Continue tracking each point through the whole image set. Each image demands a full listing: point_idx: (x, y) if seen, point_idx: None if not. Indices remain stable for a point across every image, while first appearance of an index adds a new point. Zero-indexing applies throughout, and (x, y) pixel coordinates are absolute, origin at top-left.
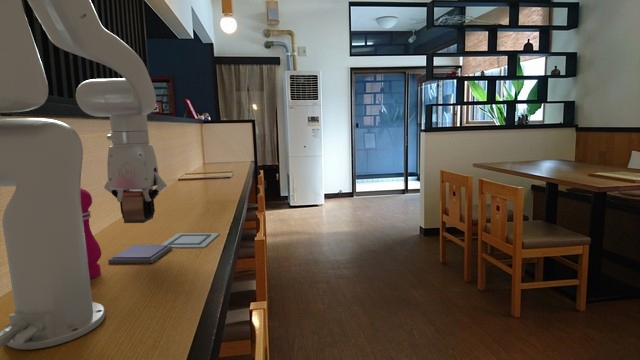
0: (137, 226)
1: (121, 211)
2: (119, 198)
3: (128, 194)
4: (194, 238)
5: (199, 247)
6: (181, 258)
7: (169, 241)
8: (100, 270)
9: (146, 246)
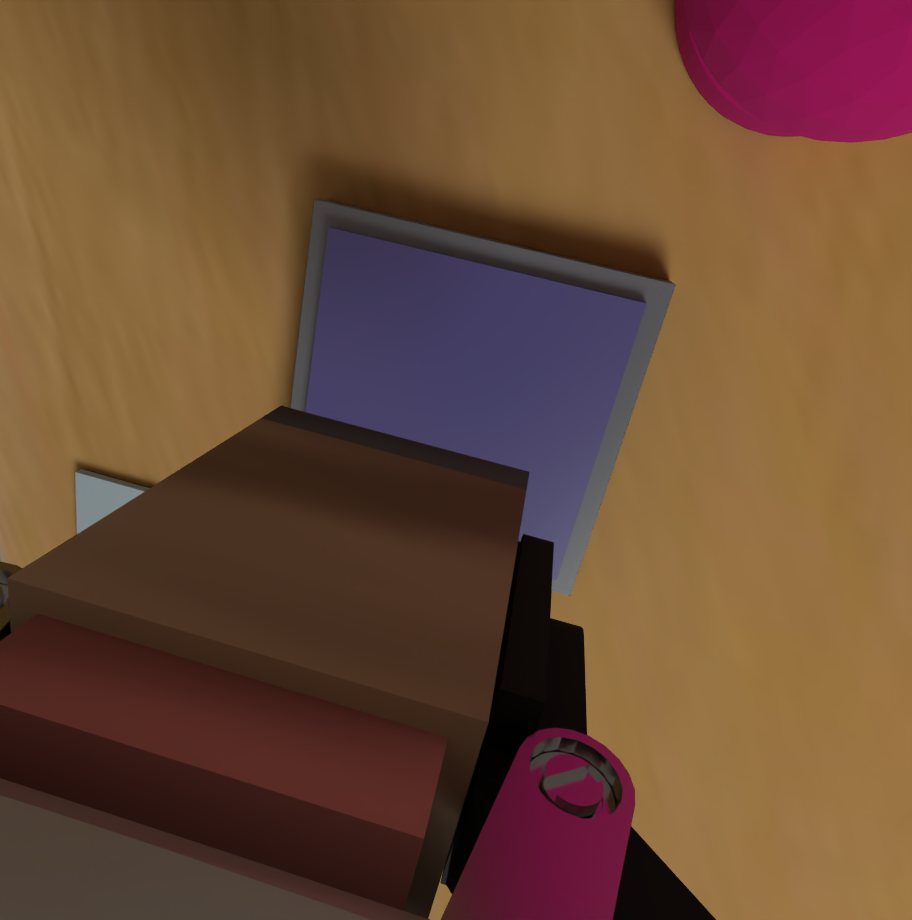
0: None
1: (575, 638)
2: (575, 793)
3: (283, 751)
4: None
5: (111, 479)
6: (152, 273)
7: None
8: (680, 35)
9: None
